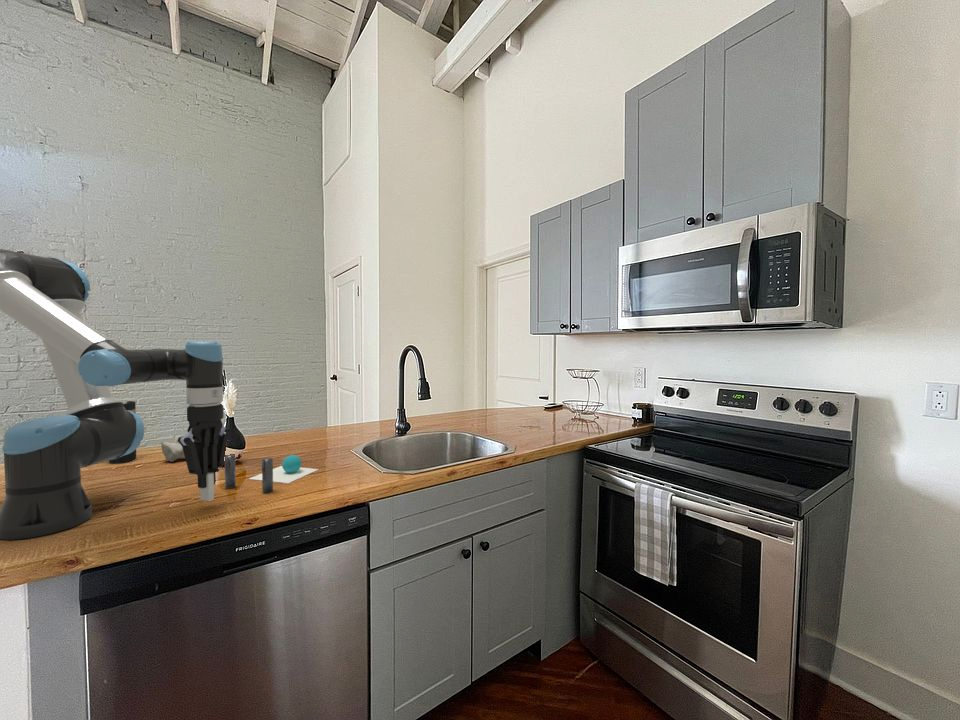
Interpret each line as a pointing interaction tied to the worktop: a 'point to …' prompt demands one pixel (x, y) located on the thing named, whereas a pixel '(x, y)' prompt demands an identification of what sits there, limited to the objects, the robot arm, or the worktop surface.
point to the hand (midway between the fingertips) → (207, 499)
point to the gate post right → (267, 475)
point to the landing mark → (286, 475)
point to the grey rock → (172, 451)
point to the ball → (291, 464)
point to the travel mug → (132, 456)
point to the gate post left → (230, 471)
